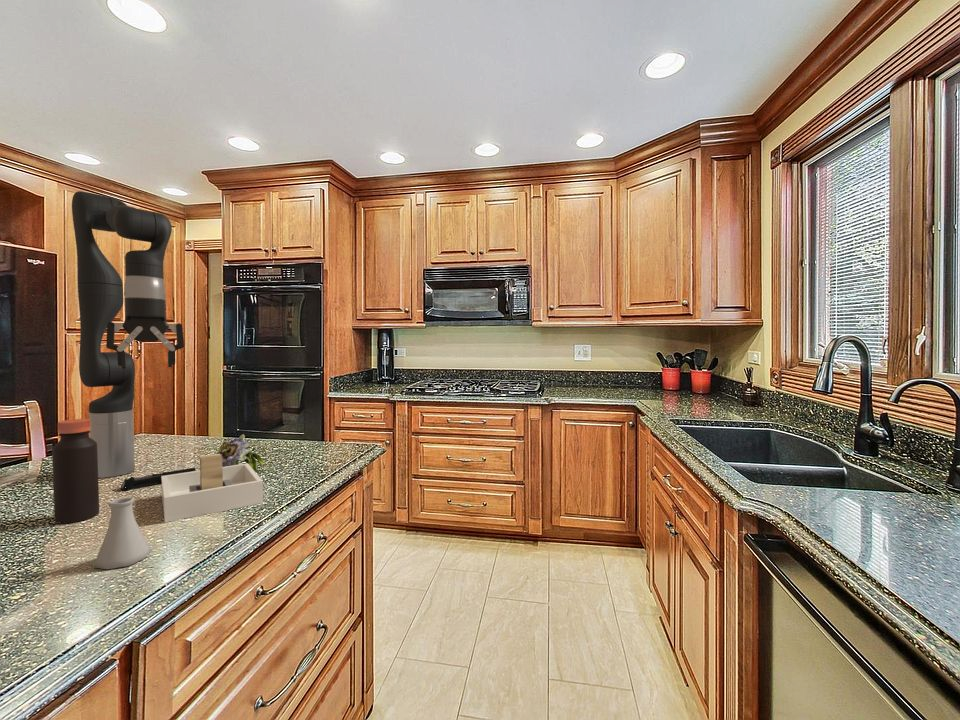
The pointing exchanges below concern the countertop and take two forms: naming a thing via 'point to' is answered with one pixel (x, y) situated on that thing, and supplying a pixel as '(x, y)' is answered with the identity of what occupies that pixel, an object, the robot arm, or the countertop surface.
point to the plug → (211, 471)
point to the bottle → (75, 473)
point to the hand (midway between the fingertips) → (147, 367)
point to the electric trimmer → (149, 479)
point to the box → (210, 492)
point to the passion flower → (239, 453)
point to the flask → (122, 538)
